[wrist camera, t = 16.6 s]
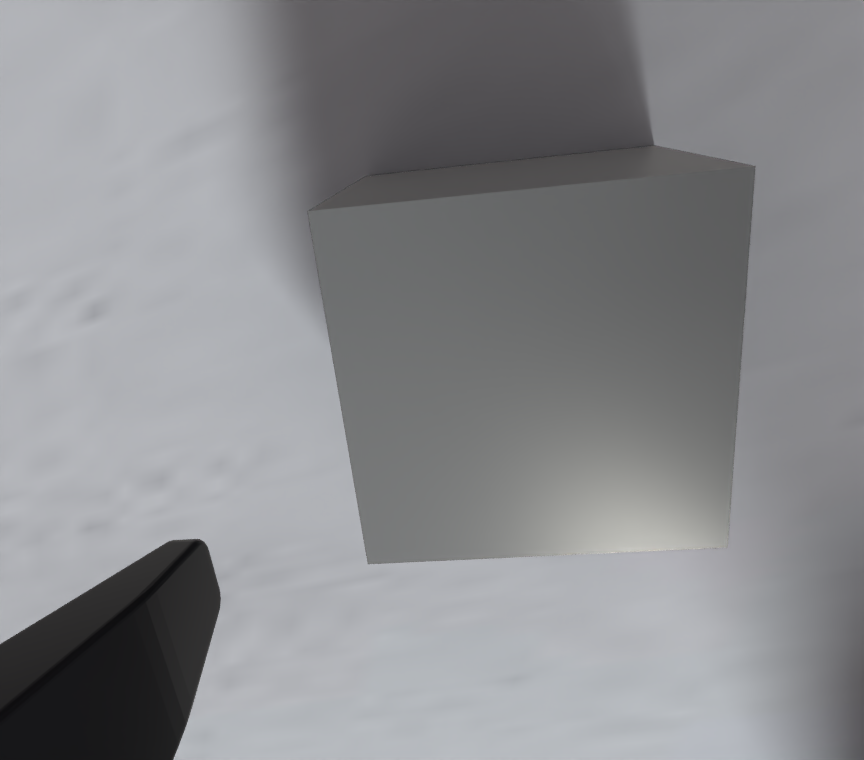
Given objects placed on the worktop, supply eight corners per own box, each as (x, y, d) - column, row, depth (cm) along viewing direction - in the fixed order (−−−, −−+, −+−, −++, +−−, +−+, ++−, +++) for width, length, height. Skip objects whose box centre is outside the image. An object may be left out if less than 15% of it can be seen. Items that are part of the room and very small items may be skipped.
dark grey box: (650, 411, 20) (727, 547, 14) (400, 427, 21) (368, 564, 15) (655, 145, 17) (755, 166, 11) (366, 175, 18) (307, 211, 12)
